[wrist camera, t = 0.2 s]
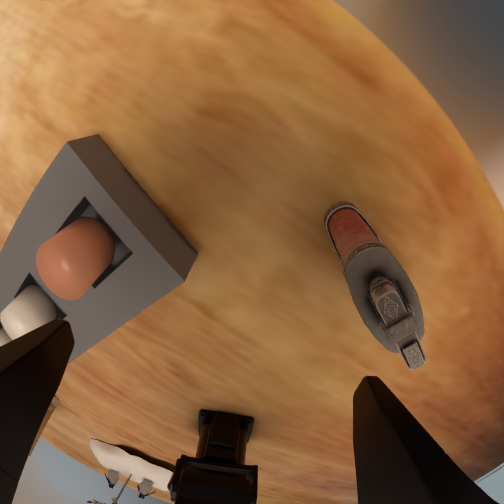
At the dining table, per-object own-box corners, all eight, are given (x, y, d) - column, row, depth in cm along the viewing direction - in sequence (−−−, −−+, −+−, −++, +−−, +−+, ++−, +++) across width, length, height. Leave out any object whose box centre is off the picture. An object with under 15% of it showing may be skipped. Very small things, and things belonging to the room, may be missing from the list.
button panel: (53, 363, 32) (40, 384, 28) (-7, 298, 28) (-24, 315, 24) (198, 253, 23) (184, 281, 19) (98, 134, 19) (66, 141, 15)
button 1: (22, 356, 26) (5, 378, 23) (-1, 332, 25) (-18, 353, 22) (30, 346, 25) (12, 370, 22) (6, 320, 24) (-14, 342, 20)
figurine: (176, 461, 39) (145, 542, 24) (191, 490, 47) (170, 552, 33) (77, 423, 41) (40, 488, 27) (108, 462, 50) (83, 515, 35)
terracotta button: (95, 278, 20) (68, 310, 17) (60, 238, 19) (28, 264, 15) (125, 249, 19) (97, 281, 15) (87, 205, 18) (52, 228, 14)
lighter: (313, 217, 21) (340, 300, 12) (353, 192, 20) (410, 259, 11) (362, 296, 24) (397, 391, 15) (397, 275, 23) (447, 363, 14)
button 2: (47, 327, 23) (26, 354, 20) (20, 297, 22) (-4, 321, 18) (62, 311, 22) (39, 340, 18) (33, 277, 21) (5, 303, 17)
